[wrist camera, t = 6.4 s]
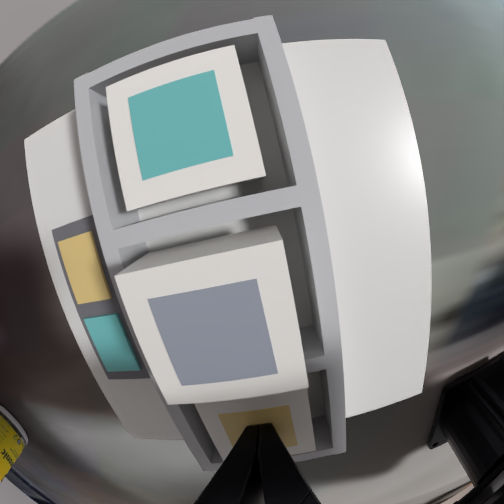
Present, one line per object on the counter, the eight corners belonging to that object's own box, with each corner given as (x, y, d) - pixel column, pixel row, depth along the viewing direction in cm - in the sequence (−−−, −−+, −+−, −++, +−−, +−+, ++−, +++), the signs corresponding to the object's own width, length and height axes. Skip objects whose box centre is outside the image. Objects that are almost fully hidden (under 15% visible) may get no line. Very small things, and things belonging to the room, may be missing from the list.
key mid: (298, 343, 8) (308, 387, 6) (184, 361, 8) (167, 405, 6) (275, 224, 7) (282, 240, 5) (148, 253, 7) (113, 276, 5)
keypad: (405, 369, 12) (439, 418, 8) (143, 413, 13) (120, 464, 9) (366, 59, 9) (407, 16, 5) (52, 143, 10) (-8, 137, 6)
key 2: (309, 414, 10) (316, 450, 8) (228, 426, 10) (224, 462, 8) (298, 350, 9) (306, 387, 7) (203, 366, 10) (193, 402, 8)
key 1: (264, 178, 8) (266, 175, 6) (154, 205, 8) (126, 211, 6) (239, 73, 7) (233, 44, 5) (134, 104, 8) (105, 87, 6)
